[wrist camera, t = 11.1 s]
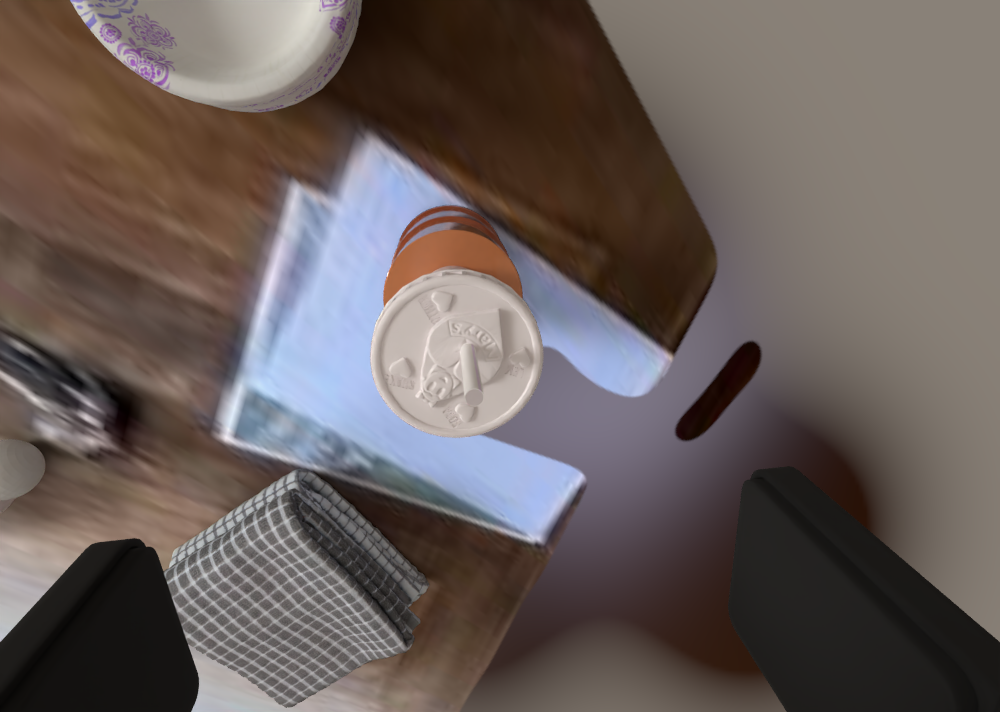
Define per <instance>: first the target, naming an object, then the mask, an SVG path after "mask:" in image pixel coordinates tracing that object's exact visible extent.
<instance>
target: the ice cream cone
mask: <svg viewBox="0 0 1000 712" xmlns="http://www.w3.org/2000/svg"><path fill="white" fill-rule="evenodd" d="M44 471H45V459H44V457H43V455H42V453H41V452H40V451H39V449H38V448H36V447H35V446H33V445H32V444H30V443H28V442H25V441H21V440H14V439H8V440H0V513H2V512H3V511H4V510H6V509H7V508H8V507H9V506H10V505H11V504H12V502H13V501H14V499H15V498H17V497H19V496H22V495H24V494H26V493H27V492H29V491H31V490H32V489H33V488H34V487H35V486H36V485H37V484H38V483H39V482H40V480H41V479H42V477H43V475H44Z"/></svg>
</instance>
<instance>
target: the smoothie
mask: <svg viewBox="0 0 1000 712" xmlns="http://www.w3.org/2000/svg"><path fill="white" fill-rule="evenodd" d="M370 361H371V370H372V375H373V379H374V382H375V384H376V387H377V389H378V391H379V393H380V395H381V397H382V398H383V400H384V402H385V403H386V404H387V405H388V407H389V408H390V409H391V410H392V411H393V412H394V413H395V414H396V415H397V416H398V417H399V418H401V419H402V420H403V421H405V422H406V423H407V424H409V425H411V426H413V427H414V428H416V429H419V430H421V431H423V432H426V433H429V434H433V435H437V436H442V437H452V438H460V437H470V436H475V435H479V434H483V433H486V432H489V431H491V430H493V429H496V428H497V427H500V426H501V425H503V424H505V423H506V422H508V421H509V420H510V419H512V418H513V417H514V416H515V415H516V414H518V413H519V412H520V411H521V410H522V408H523V407H524V406H525V405H526V404H527V402H528V401H529V400H530V398H531V397H532V395H533V393H534V391H535V389H536V387H537V385H538V382H539V379H540V376H541V372H542V366H543V345H542V339H541V335H540V332H539V329H538V326H537V322H536V320H535V318H534V316H533V314H532V313H531V311H530V309H529V307H528V305H527V303H526V302H525V301H524V300H523V299H522V298H521V297H520V296H519V295H518V294H517V293H516V292H515V291H514V290H513V289H512V288H511V287H510V286H508V285H506V284H505V283H503V282H501V281H500V280H498V279H496V278H495V277H493V276H491V275H487V274H484V273H480V272H476V271H473V270H469V269H467V268H464V267H460V266H445V267H442V268H439V269H437V270H435V271H434V272H432V273H430V274H426V275H422V276H421V277H419V278H417V279H416V280H414V281H412V282H410V283H409V284H407V285H405V286H403V287H402V288H401V289H400V290H399V291H398V292H397V293H396V294H395V295H394V296H393V297H392V298H391V299H390V300H389V301H388V302H387V303H386V305H385V307H384V309H383V311H382V312H381V314H380V316H379V318H378V320H377V321H376V324H375V329H374V333H373V338H372V342H371V353H370Z"/></svg>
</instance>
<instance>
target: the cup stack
mask: <svg viewBox="0 0 1000 712" xmlns="http://www.w3.org/2000/svg"><path fill="white" fill-rule="evenodd" d="M445 266H460V267H464V268H467V269H469V270H473V271H476V272H480V273H484V274H487V275H491V276H493V277H495V278H496V279H498V280H500V281H501V282H503V283H505V284H506V285H508V286H510V287H511V288H512V289H513V290H514V291H515V292H516V293H517V294H518V295H519V296H520V297H521V298H522V299H523V293H522V286H521V281H520V278H519V275H518V272H517V270H516V268H515V266H514V264H513V263H512V261H511V259H510V258H509V256H508V254H507V251H506V249H505V247H504V246H503V244H502V243H501V241H500V239H499V237H498V235H497V233H496V232H495V230H494V228H493V227H492V226H491V225H490V224H489V222H488V221H487V220H485V219H484V218H483V217H482V216H481V215H479V214H478V213H476V212H474V211H472V210H470V209H468V208H465V207H461V206H455V205H443V206H437V207H434V208H431V209H428V210H426V211H424V212H422V213H421V214H419V215H418V216H416V217H415V218H414V219H413V220H412V221H411V222H410V223H409V224H408V226H407V227H406V229H405V230H404V232H403V233H402V236H401V238H400V240H399V243H398V247H397V249H396V252H395V254H394V257H393V260H392V264H391V268H390V270H389V272H388V274H387V277H386V281H385V286H384V295H383V301H384V307H385V305H386V303H387V302H388V301H389V300H390V299H391V298H392V297H393V296H394V295H395V294H396V293H397V292H398V291H399V290H400V289H401V288H402V287H403V286H405V285H407V284H409V283H410V282H412V281H414V280H416V279H417V278H419V277H421V276H422V275H426V274H430V273H432V272H434V271H435V270H437V269H439V268H442V267H445Z"/></svg>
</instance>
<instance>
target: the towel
mask: <svg viewBox="0 0 1000 712" xmlns="http://www.w3.org/2000/svg"><path fill="white" fill-rule="evenodd" d="M163 572H164V575H165V578H166V581H167V584H168V587H169V590H170V593H171V596H172V599H173V602H174V605H175V608H176V611H177V614H178V617H179V620H180V622H181V625H182V628H183V631H184V634H185V637H186V640H187V643H188V644H189V645H191V646H192V647H195V648H196V650H198V651H200V652H201V653H202V654H206V655H207V656H208V657H210V658H211V659H213V660H216V661H217V662H218V663H221V664H223V665H226V666H227V667H228V668H230V669H232V670H234V671H237V672H238V674H240V675H241V676H243V677H247V678H248V680H249V681H251V682H252V683H253V684H256V685H257V686H258V688H260V689H261V690H262V691H265V692H266V693H267V694H268V695H269V696H270V697H272V698H274V699H275V701H276V702H278V704H280V705H283V706H284V707H286V708H287V707H293V706H295V705H296V704H297V703H299V702H302V701H304V700H305V699H306V698H308V697H309V696H311V695H314V694H316V693H317V692H318V691H320V690H322V689H324V688H326V687H327V686H329V685H330V684H331V683H334V682H336V681H337V680H339V679H341V678H342V677H343V676H345V675H347V674H349V673H350V672H352V671H353V670H354V669H356V668H359V667H361V666H362V665H363V664H366V663H368V662H371V661H372V660H376V659H384V658H388V657H392V656H395V655H396V654H398V653H405V652H406V651H407V650H408V649H409V648H410V647H411V646H412V644H413V642H414V639H415V638H414V636H413V635H412V631H413V630H414V628H415V627H416V626H417V625H418V624H420V619H419V618H418V617H417V616H416V615H415V614H414V613H413V612H412V611H410V609H409V608H408V607H409V606H411V605H412V603H413V602H414V601H416V600H417V599H418V598H420V596H421V595H422V594H424V593H425V592H426V590H427V588H428V587H429V583H428V581H427V580H426V578H425V575H423V573H420V572H418V571H417V569H416V567H415V566H413V565H411V564H410V563H409V561H408V560H407V559H405V558H404V557H403V555H402V554H400V552H399V551H397V550H396V548H395V547H394V546H393V545H392V544H391V543H389V541H388V540H387V539H386V538H385V537H384V536H383V535H382V534H381V532H380V531H379V530H378V528H375V527H373V526H372V524H371V522H369V521H368V520H367V519H365V517H363V516H362V515H361V513H359V512H358V511H357V510H356V509H355V507H354V506H353V505H352V504H350V503H349V502H348V501H347V500H346V499H344V498H343V497H342V496H341V495H340V494H339V493H338V492H337V491H336V490H335V489H334V488H333V487H332V486H331V485H330V484H329V483H327V482H326V481H324V480H322V479H321V478H320V477H318V476H317V475H316V474H315V473H314V472H312V471H310V470H302V469H298V470H294V471H292V472H291V473H289V474H288V475H286V476H283V477H282V478H281V479H279V481H276V482H274V483H273V484H271V485H270V486H269V487H267V488H265V489H263V490H262V491H261V492H260V493H259V494H258V495H255V496H254V497H252V498H251V499H250V500H248V501H245V502H244V503H242V504H241V505H240V506H238V507H237V508H235V509H233V510H232V511H231V512H230V513H229V514H227V515H225V516H223V517H222V518H221V519H219V520H218V521H217V522H216V523H214V524H213V525H211V526H210V527H209V528H207V529H206V530H204V531H202V532H201V533H200V534H199V535H197V536H195V537H194V538H193V539H190V540H188V541H187V542H186V543H185V544H183V545H181V546H179V547H178V548H177V549H175V550H174V552H173V556H172V561H171V562H170V565H169V569H166V570H165V571H163Z"/></svg>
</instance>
